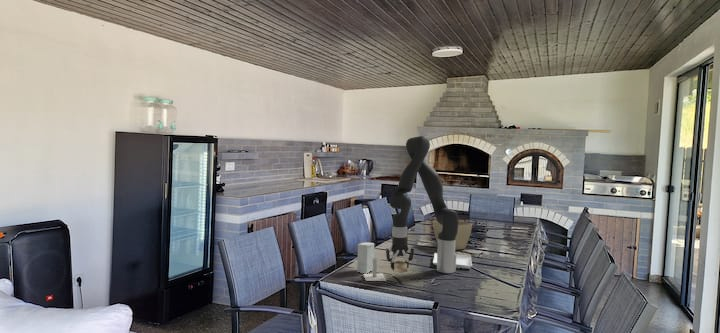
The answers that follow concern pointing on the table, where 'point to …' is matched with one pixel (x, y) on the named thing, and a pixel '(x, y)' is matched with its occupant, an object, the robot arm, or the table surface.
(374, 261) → the post
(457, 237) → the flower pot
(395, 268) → the ring
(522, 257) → the table surface
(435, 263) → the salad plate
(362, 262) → the skincare box
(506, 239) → the table surface
